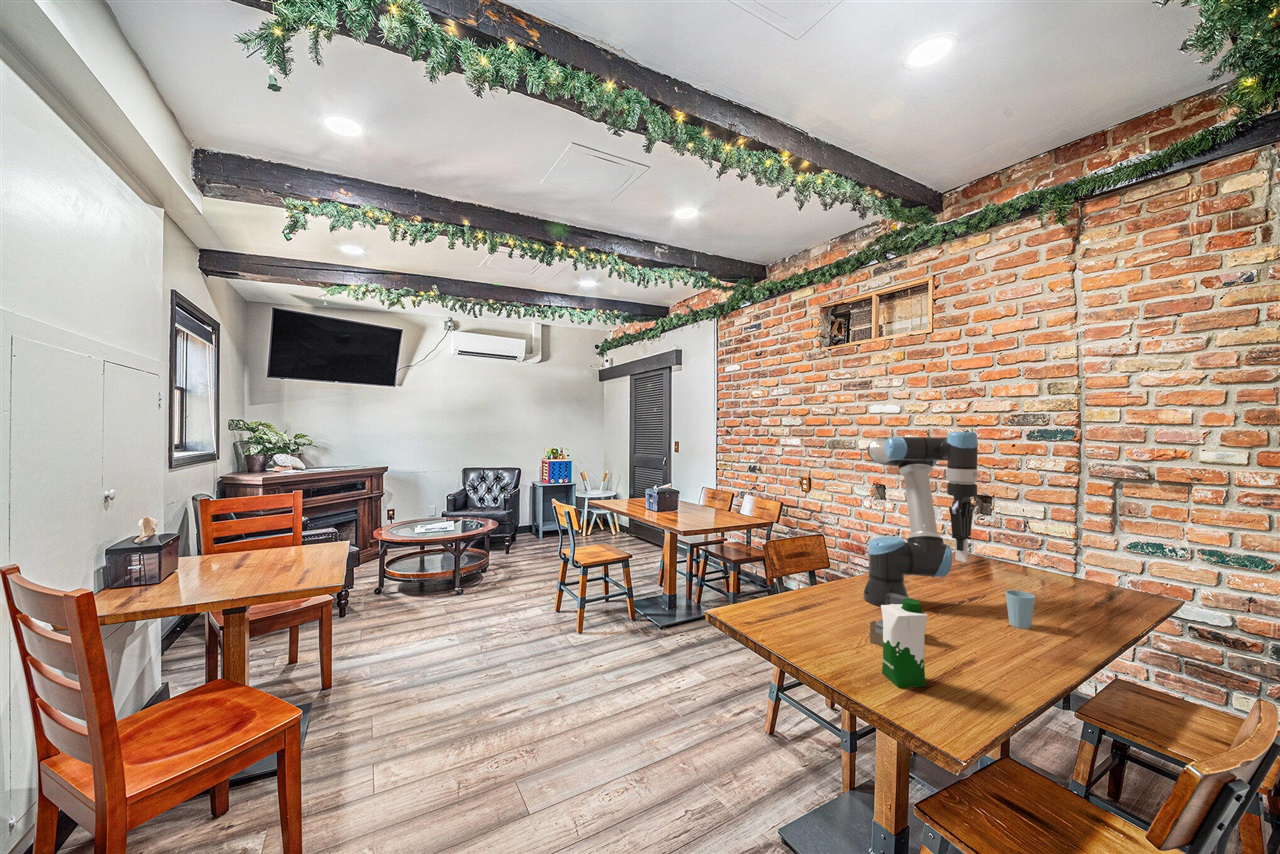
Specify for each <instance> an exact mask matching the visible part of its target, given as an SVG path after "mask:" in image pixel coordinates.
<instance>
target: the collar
mask: <svg viewBox="0 0 1280 854" xmlns="http://www.w3.org/2000/svg"><path fill="white" fill-rule="evenodd" d="M903 599H913V600H916V599H915V598H912V597H906V596H902V595H898V594H895V593H888V594H886V595H885V605H890V604H902V603H903Z"/></svg>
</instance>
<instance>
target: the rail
mask: <svg viewBox="0 0 1280 854" xmlns="http://www.w3.org/2000/svg"><path fill="white" fill-rule="evenodd" d="M869 623H870V624H869V628H870V629H869V643H870V642H871V644H873V645H876V644H877V645H876V646H878V645H879V647H881V646H882V648H883V619H881V620H879V621H875V620H872V621H870V622H869Z"/></svg>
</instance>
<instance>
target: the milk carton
mask: <svg viewBox="0 0 1280 854" xmlns="http://www.w3.org/2000/svg"><path fill="white" fill-rule="evenodd" d="M913 599H914V598H913ZM913 599H903V603H902V604H890V605H881V606H880V610H881V616H882V620H883V647H882V667H881V668H882V670H881V671H882V672H881V674H882V675H883V674H884V675H885V676H884V675H883V676H884V677H886V678H887V679H888V680H889V681H890V682H891V681H892V682H891V683H893V684H894V685H895V686H896V687H897V688H899V689H900V688H902V689H903V688H904V689H905V688H924V687H926V675H925V674H926V673H925V670H926V669H925V631H926V627H927V622H928V617H929V615H928V614H927V613H925V612H923V611H922V610H921V602H920V601H918V600H917V599H915V600H913Z"/></svg>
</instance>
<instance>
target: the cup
mask: <svg viewBox="0 0 1280 854" xmlns="http://www.w3.org/2000/svg"><path fill="white" fill-rule="evenodd" d="M1005 598H1006V607H1007V615H1008V622H1009V625H1010V626H1011V627H1015V628H1017V629H1022V630H1029V629H1031V628H1032V623H1033V622H1032V621H1033V615H1034V608H1035V607H1034V606H1035V603H1036V596H1035V595H1034V594H1032V593H1030V592H1026V591H1022V590H1016V589H1007V590H1005Z"/></svg>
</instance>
